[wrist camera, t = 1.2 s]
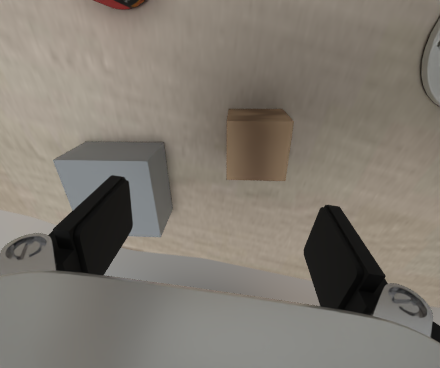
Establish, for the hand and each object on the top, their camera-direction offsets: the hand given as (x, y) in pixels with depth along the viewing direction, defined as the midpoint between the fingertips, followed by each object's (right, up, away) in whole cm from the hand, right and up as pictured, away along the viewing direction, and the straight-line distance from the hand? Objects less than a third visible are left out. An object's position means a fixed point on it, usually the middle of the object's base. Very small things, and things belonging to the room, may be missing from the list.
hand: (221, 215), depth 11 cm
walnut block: (+4, +7, +16) cm, 18 cm away
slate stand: (-12, +2, +20) cm, 23 cm away
